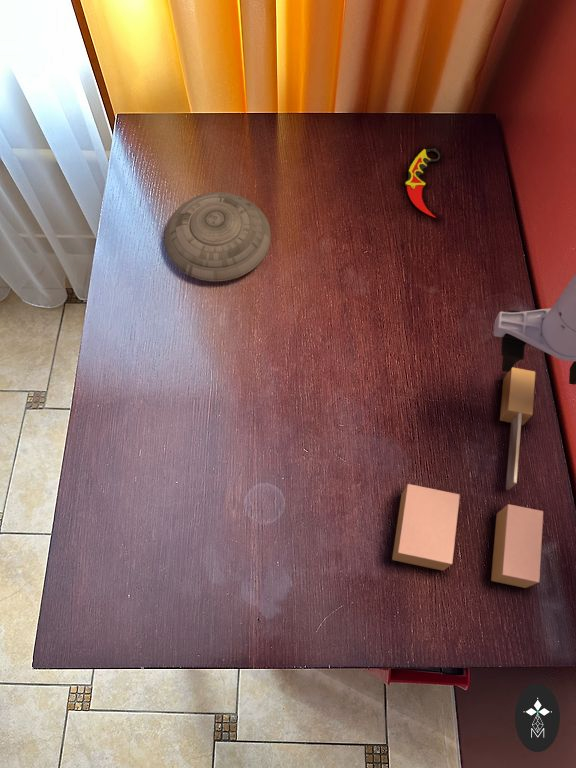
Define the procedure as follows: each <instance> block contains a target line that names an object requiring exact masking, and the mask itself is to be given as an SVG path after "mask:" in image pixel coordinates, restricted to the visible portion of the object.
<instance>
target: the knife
mask: <svg viewBox="0 0 576 768" xmlns="http://www.w3.org/2000/svg"><path fill="white" fill-rule="evenodd" d="M428 152H433V153H434V154H436V155H437V158H434V159H433V158H431V157H429V156H428ZM440 158H441V153H440V151H438V150H437V147H435V148H434V147H433V148H426V149H425V148H424V149H422V150H421V152H419V153H418V155H417V156H415V158H414V160H413V161H412V163H411V164H410V166H409V169H408V171H407V174H408V177H407V180H406V181H405V183H404V187H406V192H407V195H408V197H409V200H410V202H411V203H412V204H413V205H414V206H415V208H417V209H418V210H419V211H421V212H422V213H423V214H426V215H427V216H430V217H433V218H436V219H437V217H436V216H435V215H434V214H433V213H432V212H431V211H430V210H429V209H428V207H427V206H426V205H425V203H424V200H423V188H425V187H426V181H425V182H424V181H423V180H422V179H420V176H421V175H423V174H424V171H423V170H425V169H426V168H428V164H429V163H436V162H438V161H439V160H441V159H440Z"/></svg>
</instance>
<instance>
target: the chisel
mask: <svg viewBox="0 0 576 768" xmlns="http://www.w3.org/2000/svg"><path fill="white" fill-rule="evenodd" d="M535 384H536V371H534V370H529V369H524V368H518V367H514V366H513V367H512V369H511V370H510V371H509V372H506V374H505V376H504V377H503V379H502V391H501V402H500V413H499V414H500V415H499V421H500V422H505V423H510V433H509V444H508V446H509V447H508V456H507V457H508V458H507V469H506V470H507V471H506V480H505V483H506V485H505V490H507V491H510V490H511V489H512V488H513V487H514V486H515V485H516V484H518V482H517V481H518V473H519V458H520V446H521V445H520V443H521V430H522V426H524V425H525V424H526V423H527V422H528V421H529V420H530V418H531V417H532V416H533V414H534V402H535V401H534V400H535Z"/></svg>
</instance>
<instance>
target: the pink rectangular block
mask: <svg viewBox="0 0 576 768" xmlns="http://www.w3.org/2000/svg"><path fill="white" fill-rule="evenodd" d="M460 497H461V495H460V494H459V493H456V492H449V491H446V490H445V491H444V490H439V489H435V488H431V487H425V486H421V485H416V484H411V483H407V485H406V486H405V488H404V490H402V492H401V496H400V502H399V509H398V516H397V523H396V530H395V537H394V542H393V543H394V544H393V551H392V559H391V560H392V561H396V562H400V563H405V564H410V565H415V566H419V567H424V568H427V569H433V570H438V571H441V572H442V571H445V570H446V569H448V568H449V567H450V566H452V565H453V561H454V555H455V554H454V553H455V543H456V533H457V525H458V517H459V516H458V515H459V508H460V507H459V506H460Z"/></svg>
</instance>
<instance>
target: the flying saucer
mask: <svg viewBox="0 0 576 768" xmlns="http://www.w3.org/2000/svg"><path fill="white" fill-rule="evenodd" d="M270 225H271V224H270V223H269V220H268V218H267V216H266V215H265V213H264V212H263V211H262V210H261V209H260V207H259V206H257V205H256V204H255V203H254V202H253V201H251V200H249V199H247V198H245V197H243V196H241V195H238V194H234V193H230V192H224V191H215V192H208V193H203V194H200V195H196V196H195V197H192V198H190V199H188V200H186V201H185V202H183V203H182V204H181V205H180V206H178V208H177V209H176V210H174V212H173V213H172V214H171V216H170V217H169V219H168V221H167V223H166V226H165V228H164V234H163V243H164V248H165V252H166V255H167V256H168V258H169V260H170V261H171V263H172V264H173V265H174V266H175V267H176V268H177V269H178V270H180V271H181V272H182V273H184V274H186V275H187V276H190V277H192V278H195V279H197V280H201V281H207V282H225V281H230V280H235V279H238V278H240V277H242V276H244V275H246V274H248V273H250V272H251V271H253V270H254V269H255V268H256V267H257V266H258V265H259V264H261V262H262V261H263V260H264V259H265V257H266V255H267V254H268V251H269V249H270V247H271V242H272V231H271V226H270Z"/></svg>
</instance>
